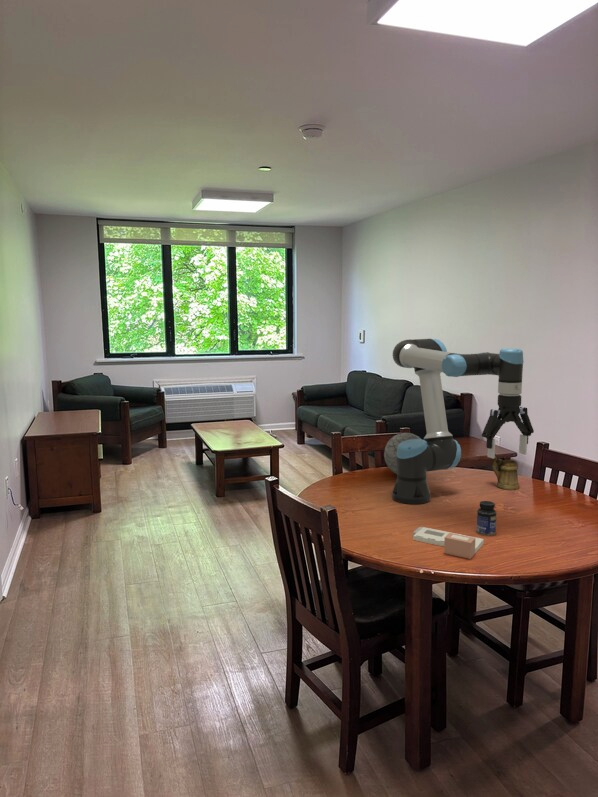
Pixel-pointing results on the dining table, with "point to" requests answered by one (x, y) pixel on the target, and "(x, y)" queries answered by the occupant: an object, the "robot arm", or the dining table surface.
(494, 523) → the pill bottle
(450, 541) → the stub
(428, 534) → the white grooved bar
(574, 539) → the dining table surface
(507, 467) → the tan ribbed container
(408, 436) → the decorative sphere
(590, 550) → the dining table surface
